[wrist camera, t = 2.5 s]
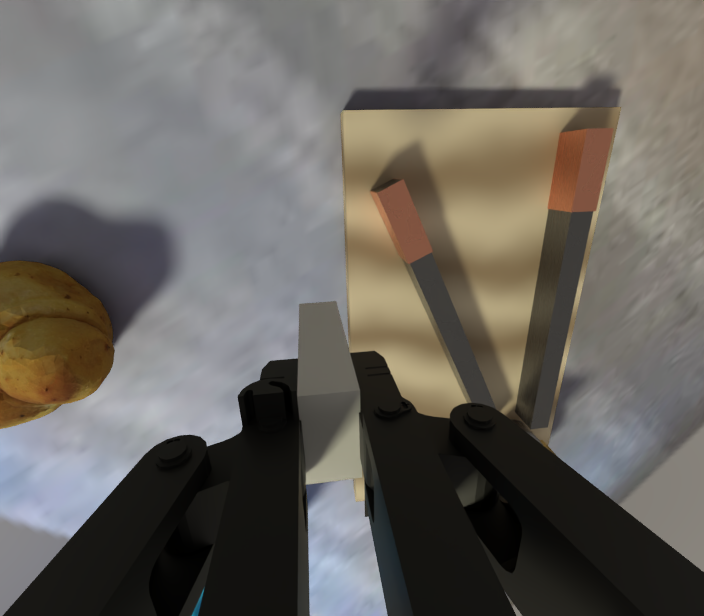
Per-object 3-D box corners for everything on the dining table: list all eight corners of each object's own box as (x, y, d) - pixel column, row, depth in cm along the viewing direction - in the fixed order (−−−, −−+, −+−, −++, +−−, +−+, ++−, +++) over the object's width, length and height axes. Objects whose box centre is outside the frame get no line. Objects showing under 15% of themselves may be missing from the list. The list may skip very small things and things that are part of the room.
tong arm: (369, 191, 24) (376, 193, 21) (393, 178, 24) (403, 178, 21) (476, 427, 32) (490, 446, 30) (494, 418, 32) (509, 437, 30)
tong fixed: (525, 133, 24) (549, 129, 22) (585, 132, 24) (615, 128, 22) (481, 459, 34) (494, 480, 32) (524, 454, 34) (540, 474, 32)
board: (340, 113, 23) (342, 110, 22) (603, 110, 25) (621, 107, 24) (353, 488, 35) (355, 501, 34) (532, 465, 37) (541, 476, 36)
